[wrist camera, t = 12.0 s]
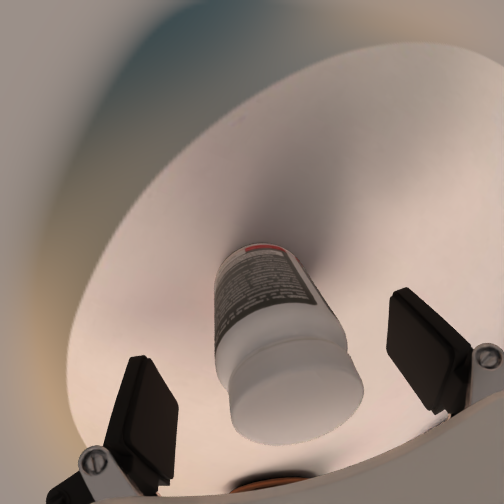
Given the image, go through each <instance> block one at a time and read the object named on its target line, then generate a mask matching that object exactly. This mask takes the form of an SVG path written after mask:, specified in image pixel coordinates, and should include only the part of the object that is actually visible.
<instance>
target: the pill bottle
mask: <svg viewBox="0 0 504 504" xmlns="http://www.w3.org/2000/svg"><path fill="white" fill-rule="evenodd" d="M214 307H215V309H214V320H215V365H216V372H217V375H218V378H219V380H220V382H221V384H222V385H223V387H224V388H225V389H226V391H227V392H228V394H229V402H230V413H231V421H232V424H233V426H234V428H235V430H236V431H237V432H238V433H239V434H240V435H242V436H243V437H244V438H246V439H248V440H250V441H253V442H256V443H259V444H264V445H273V446H283V445H293V444H298V443H303V442H307V441H310V440H313V439H316V438H319V437H321V436H323V435H325V434H327V433H329V432H331V431H333V430H335V429H336V428H338V427H339V426H341V425H342V424H343V423H345V422H346V421H347V420H348V419H349V418H350V417H351V416H352V415H353V414H354V413H355V411H356V410H357V409H358V407H359V405H360V403H361V401H362V398H363V395H364V387H363V383H362V380H361V378H360V376H359V374H358V372H357V370H356V368H355V366H354V364H353V361H352V359H351V357H350V356H349V354H348V353H347V349H348V347H347V338H346V334H345V332H344V330H343V328H342V326H341V324H340V322H339V320H338V319H337V317H336V316H335V314H334V313H333V311H332V310H331V309H330V307H329V306H328V304H327V302H326V301H325V299H324V298H323V297H322V295H321V293H320V292H319V290H318V289H317V287H316V286H315V284H314V283H313V281H312V280H311V278H310V277H309V275H308V274H307V272H306V271H305V269H304V268H303V266H302V264H301V263H300V262H299V260H298V259H297V258H296V257H295V256H294V255H293V254H292V253H291V252H289V251H288V250H286V249H285V248H283V247H280V246H278V245H274V244H268V243H258V244H251V245H248V246H245V247H243V248H241V249H239V250H237V251H236V252H234V253H233V254H231V255H230V256H229V257H228V258H227V259H226V260H225V261H224V262H223V264H222V265H221V266H220V268H219V270H218V272H217V275H216V279H215V285H214Z"/></svg>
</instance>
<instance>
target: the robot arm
mask: <svg viewBox="0 0 504 504" xmlns="http://www.w3.org/2000/svg"><path fill="white" fill-rule="evenodd" d="M386 350H387V353H388V355H389V356H390V358H391V359H392V361H393V362H394V363H395V365H396V366H397V367H398V369H399V370H400V372H401V373H402V374H403V376H404V377H405V379H406V380H407V382H408V383H409V384H410V386H411V387H412V389H413V390H414V391H415V393H416V394H417V396H418V397H419V399H420V400H421V402H422V403H423V405H424V406H425V407H426V409H427V410H429V411H430V410H432V412H433V413H434V415H436V414H438V413H440V412H441V411H443V410H446V411H447V412H448V419H447V421H445V422H443V423H442V424H440V425H438V426H436V427H435V428H433V429H431V430H429V431H427V432H426V433H424V434H422V435H420V436H418V437H416V438H414V439H412V440H410V441H408V442H406V443H404V444H402V445H400V446H398V447H396V448H394V449H392V450H389V451H387V452H385V453H382V454H380V455H378V456H375V457H373V458H370V459H368V460H365V461H363V462H360V463H358V464H355V465H352V466H349V467H346V468H344V469H341V470H338V471H334V472H331V473H328V474H325V475H321V476H318V477H314V478H311V479H307V480H303V481H299V482H295V483H290V484H286V485H281V486H276V487H271V488H266V489H260V490H254V491H247V492H239V493H231V494H221V495H207V496H186V497H162V496H161V495H160V494H159V493H158V492H157V491H158V486H170V479H173V477H174V463H175V448H176V434H177V422H178V411H179V407H178V403H177V401H176V399H175V398H174V396H173V395H172V393H171V391H170V390H169V388H168V387H167V385H166V383H165V382H164V380H163V378H162V377H161V375H160V373H159V372H158V370H157V368H156V367H155V365H154V363H153V361H152V360H151V359H150V358H147V357H146V356H145V355H142V356H135V357H131V358H130V359H129V362H128V365H127V368H126V371H125V374H124V377H123V380H122V383H121V386H120V389H119V392H118V395H117V398H116V401H115V405H114V408H113V411H112V415H111V418H110V422H109V425H108V429H107V433H106V436H105V440H104V444H103V446H98V445H96V446H91V447H89V448H87V449H86V450H84V451H83V453H82V454H81V455H80V457H79V460H78V467H79V471H78V472H76V473H75V474H74V475H72V476H71V477H69V478H68V479H66V480H65V481H63V482H62V483H60V484H59V485H57V486H56V487H54V488H53V489H51V490H50V491H49V493H48V495H47V498H46V504H504V352H503V350H502V349H501V348H500V347H498V346H497V345H494V344H491V343H483V344H480V345H478V346H477V347H476V348H475V349H473V348H472V347H471V344H470V343H468V342H467V341H466V340H465V339H464V338H463V337H462V336H461V335H460V334H459V333H458V332H457V331H456V330H455V329H454V328H453V327H452V326H451V325H450V324H448V323H447V322H446V321H445V320H444V319H443V318H442V317H441V316H440V315H439V314H438V313H436V312H435V311H434V310H433V309H432V308H431V307H430V306H429V305H427V304H426V303H425V302H424V301H423V300H422V299H421V298H419V297H418V296H417V295H416V294H415V293H414V292H413V291H411V290H410V289H409V288H407V287H405V288H402V289H400V290H397V291H395V292H393V295H392V296H391V297H390V301H389V320H388V333H387V344H386Z"/></svg>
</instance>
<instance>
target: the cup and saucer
mask: <svg viewBox="0 0 504 504" xmlns="http://www.w3.org/2000/svg"><path fill="white" fill-rule="evenodd" d="M307 479H308V478H300V477H288V478H276V479H269V480H263V481H258V482H254V483H250V484H247V485H244V486H241V487H239V488H237V489H235V490H233V491H232V492H230V493H229V494H231V493H239V492H247V491H254V490H260V489H266V488H271V487H276V486H281V485H286V484H290V483H295V482H299V481H303V480H307Z"/></svg>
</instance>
